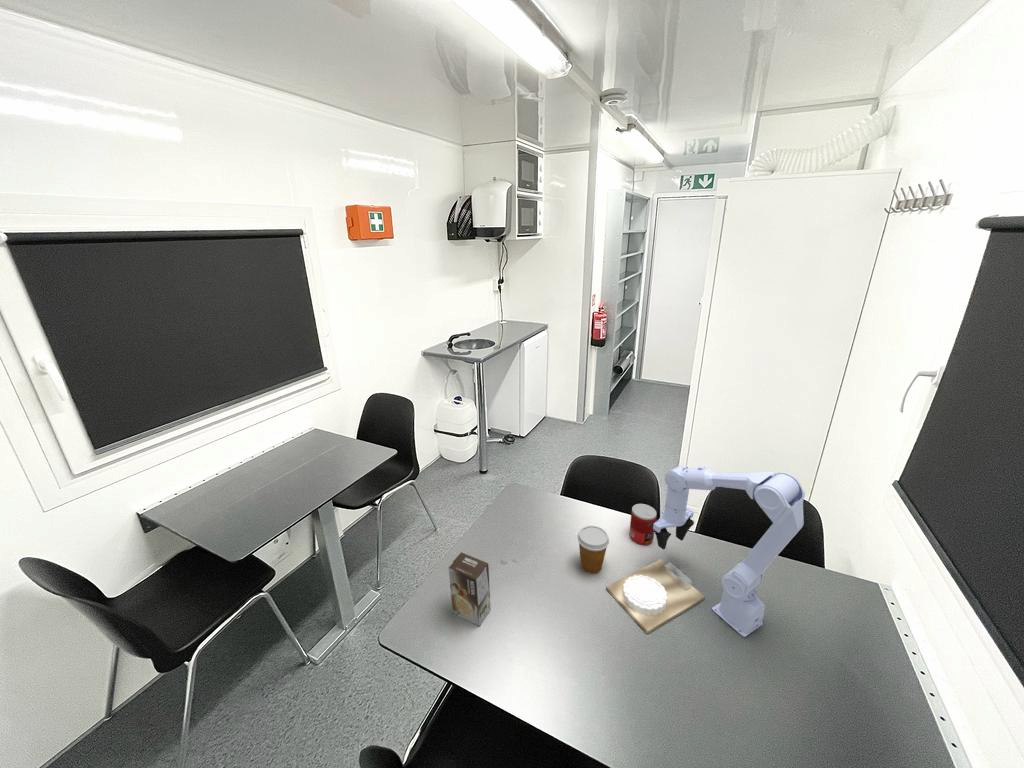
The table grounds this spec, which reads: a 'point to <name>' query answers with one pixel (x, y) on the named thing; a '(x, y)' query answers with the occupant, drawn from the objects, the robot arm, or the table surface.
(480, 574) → the coffee box
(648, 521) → the canned food
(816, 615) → the table surface
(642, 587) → the mooncake
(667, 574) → the wooden cutting board
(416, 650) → the table surface
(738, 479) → the robot arm
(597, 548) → the disposable coffee cup
